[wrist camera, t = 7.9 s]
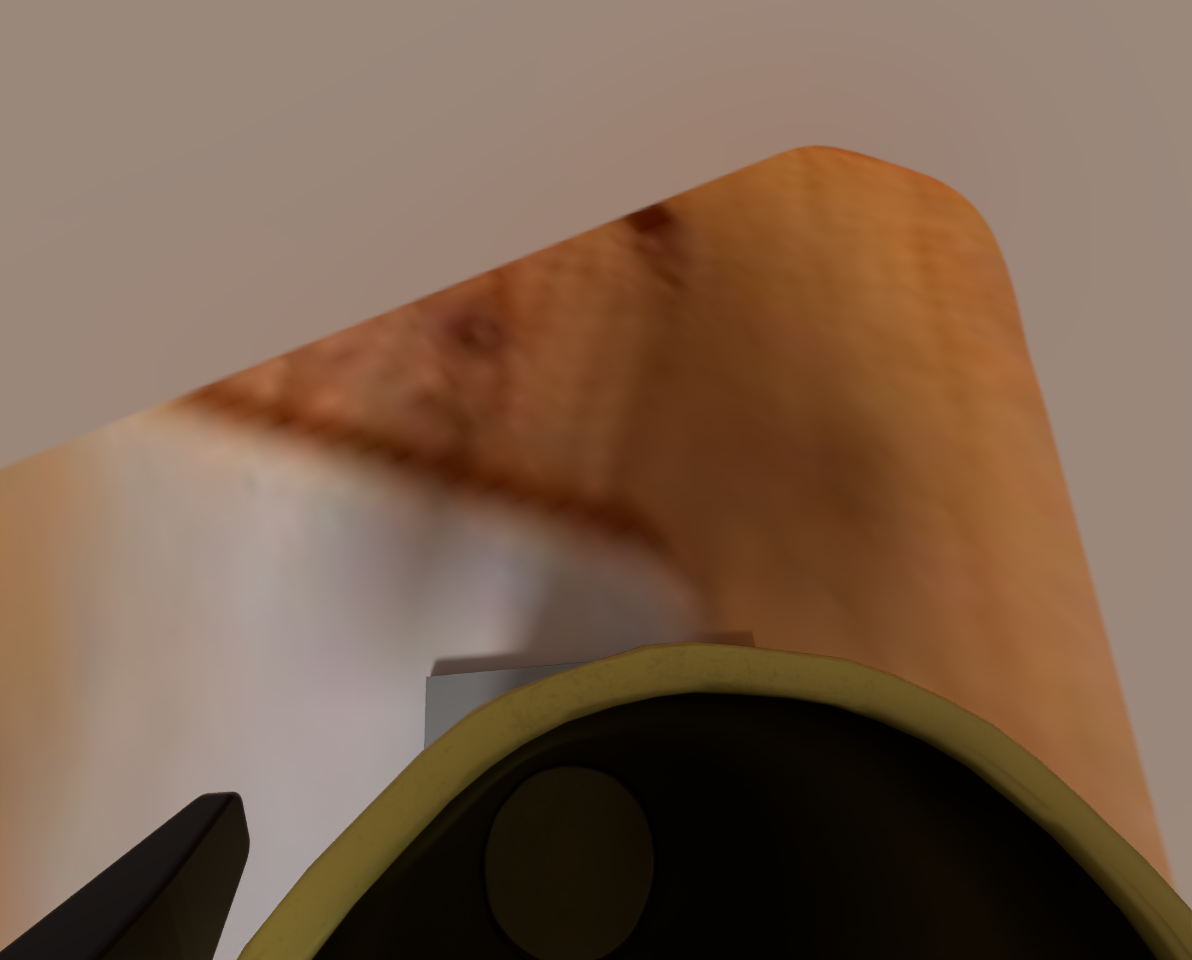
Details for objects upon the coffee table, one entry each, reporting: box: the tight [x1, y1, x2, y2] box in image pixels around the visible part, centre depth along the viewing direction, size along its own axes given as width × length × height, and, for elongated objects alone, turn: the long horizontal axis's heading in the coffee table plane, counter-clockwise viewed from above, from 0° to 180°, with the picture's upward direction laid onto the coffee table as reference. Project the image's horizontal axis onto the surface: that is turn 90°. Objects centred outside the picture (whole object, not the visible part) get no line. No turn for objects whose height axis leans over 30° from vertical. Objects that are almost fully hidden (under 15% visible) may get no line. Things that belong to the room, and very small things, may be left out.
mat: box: [424, 661, 594, 749], centre depth 14 cm, size 13×10×1 cm
